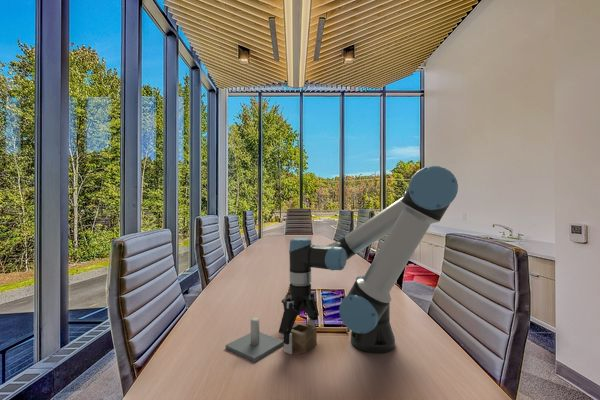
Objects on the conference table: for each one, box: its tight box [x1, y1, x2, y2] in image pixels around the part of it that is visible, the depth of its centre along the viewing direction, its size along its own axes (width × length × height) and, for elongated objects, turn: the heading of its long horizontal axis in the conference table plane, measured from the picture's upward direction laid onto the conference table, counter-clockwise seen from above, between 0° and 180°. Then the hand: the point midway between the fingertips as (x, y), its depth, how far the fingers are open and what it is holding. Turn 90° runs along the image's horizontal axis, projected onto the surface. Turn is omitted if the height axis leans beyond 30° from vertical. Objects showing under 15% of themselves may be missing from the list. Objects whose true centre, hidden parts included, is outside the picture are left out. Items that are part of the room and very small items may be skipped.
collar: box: [291, 321, 318, 355], centre depth 102 cm, size 8×8×6 cm
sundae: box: [281, 287, 295, 311], centre depth 118 cm, size 7×7×15 cm
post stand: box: [225, 317, 284, 363], centre depth 102 cm, size 14×14×9 cm
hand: (300, 345), depth 102 cm, fingers open, 12 cm apart
